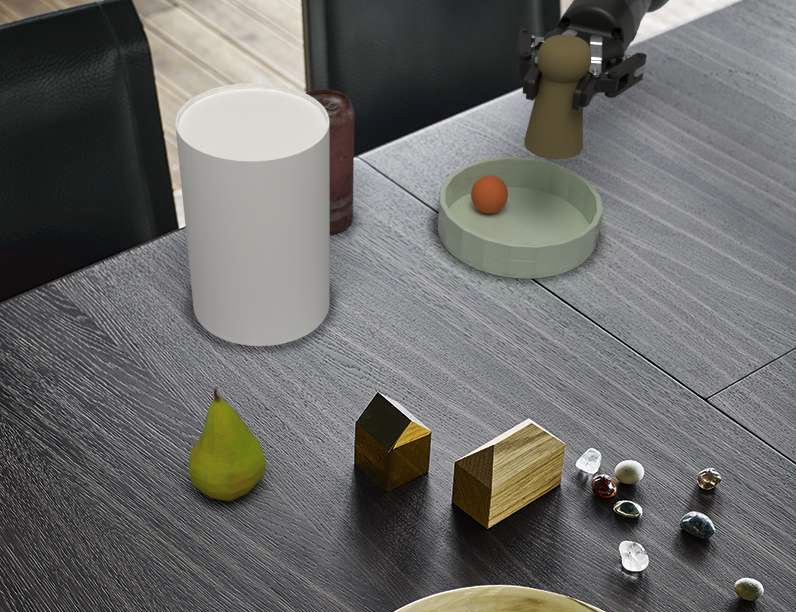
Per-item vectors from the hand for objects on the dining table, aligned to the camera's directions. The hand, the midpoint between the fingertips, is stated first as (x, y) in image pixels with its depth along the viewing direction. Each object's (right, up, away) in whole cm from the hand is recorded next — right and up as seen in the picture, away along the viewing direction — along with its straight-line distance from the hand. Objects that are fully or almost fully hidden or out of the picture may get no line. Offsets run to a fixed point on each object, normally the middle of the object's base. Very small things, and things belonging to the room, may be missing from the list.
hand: (553, 96), depth 121 cm
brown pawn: (+1, -3, +7) cm, 7 cm away
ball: (-5, -6, +15) cm, 17 cm away
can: (-23, -9, +14) cm, 29 cm away
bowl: (-2, -10, +14) cm, 18 cm away
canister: (-29, -20, +4) cm, 35 cm away
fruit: (-30, -38, -14) cm, 50 cm away
